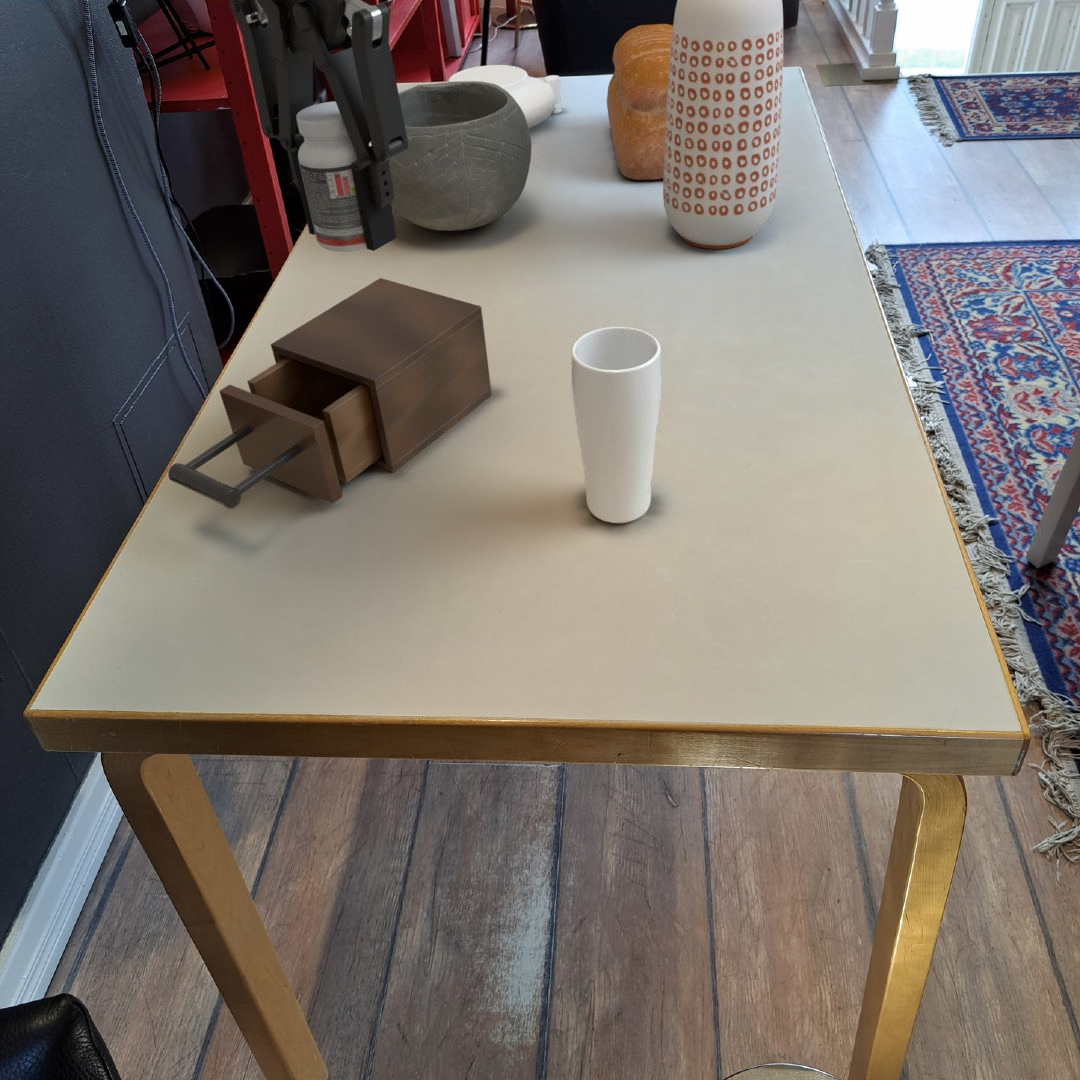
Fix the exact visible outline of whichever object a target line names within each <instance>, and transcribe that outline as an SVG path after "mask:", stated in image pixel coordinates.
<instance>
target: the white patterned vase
mask: <svg viewBox="0 0 1080 1080" xmlns="http://www.w3.org/2000/svg"><path fill="white" fill-rule="evenodd" d="M783 7H784V6H783V0H677V1H676V5H675V9H674V16H673V24H672V26H673V33H672V42H671V52H670V63H669V77H668V92H667V108H666V129H665V153H664V178H663V181H662V199H663V206H664V211H665V214H666V217H667V219H668V221H669V222H670V224H671V226H672V227H673V229H674V230H675V231H676V232H677V234H679V235H680V237H681V238H682V239H683V240H684V241H685V242H686V243H687V244H689V245H691V246H695V247H698V248H702V249H709V250H723V249H725V250H726V249H731V248H736V247H739V246H742V245H745V244H747V243H748V242H749V241H751V240H752V238H753V237H754V236H755V235H756V234H757V233H758V232H759V231H760V230H761V229H762V228H763V227H764V226H765V224H766V222H767V221H768V220H769V219H770V216H771V214H772V213H773V210H774V206H775V204H776V203H775V202H776V197H777V191H778V190H777V189H778V177H779V159H780V142H781V128H782V127H781V126H782V108H783V107H782V106H783V80H784V79H783V78H784V8H783Z"/></svg>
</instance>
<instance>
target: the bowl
mask: <svg viewBox="0 0 1080 1080" xmlns="http://www.w3.org/2000/svg"><path fill="white" fill-rule="evenodd" d="M398 93H399V98H400V104H401V109H402V114H403V119H404V125H405V130H406V135H407V140H408V149H407V150H406V151H404V152H402V153H400V154H398V155H396V156H394V157H392V158H390V159H389V166H390V172H391V178H392V184H393V190H394V201H393V202H391V206H392V212H393V213H395V214H396V215H398V216H399V217H401V218H403V219H405V220H407V221H409V222H410V223H412V224H414V225H417V226H419V227H421V228H425V229H427V230H432V231H441V232H442V231H443V232H445V231H448V232H449V231H454V232H455V231H463V230H464V231H465V230H470V229H476V228H479V227H483V226H485V225H488V224H491V223H493V222H494V221H496V220H498V219H499V218H502V216H503V215H505V214H506V213H507V212H508V211H509V210H510V209H511V208H512V207H513V206H514V205H515V204H516V202H518V200H519V198H520V197H521V195H522V193H523V191H524V189H525V186H526V183H527V179H528V175H529V172H530V166H531V161H532V160H531V159H532V138H531V133H530V128H528V125H527V121H526V118H525V115H524V113H523V111H522V109H521V108H520V106H519V105H518V103H517V102H516V101H515V99H514V98H513V97H512V96H511V95H510V94H509V93H508V92H507V91H506V90H504V89H503V88H501V87H500V86H498V85H496V84H492V83H487V82H479V81H461V82H448V81H447V82H441V83H429V84H427V83H425V84H417V85H416V86H413V87H410V88H408V89H405V90H403V91H400V92H398ZM370 143H371V145H372V141H370Z"/></svg>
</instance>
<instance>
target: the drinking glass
mask: <svg viewBox="0 0 1080 1080" xmlns="http://www.w3.org/2000/svg"><path fill="white" fill-rule="evenodd" d="M661 348H662V347H661V344H660V342H659V340H657V338H656V337H655V336H654V335H652V334H651V333H649V332H647V331H645V330H642V329H639V328H635V327H628V326H607V327H601V328H597V329H594V330H592V331H589V332H587V333H585V334H583V335H581V336H579V338H577V339H576V340H575V341H574V342H573V344H572V346H571V348H570V376H571V377H570V382H571V394H572V395H571V396H572V402H573V403H572V404H573V405H572V406H573V412H574V419H575V424H576V431H577V437H578V438H577V439H578V443H579V450H580V457H581V463H582V470H583V477H584V485H585V499H586V505H587V508H588V510H589V512H590V513H591V514H592V515H593V516H594V517H596V518H597V519H599V520H601V521H603V522H607V523H611V524H626V523H630V522H633V521H636V520H638V519H640V518H641V517H643V516H644V515H645V514H646V512H648V510H649V508H650V506H651V501H652V480H653V471H654V463H655V462H654V461H655V453H656V444H657V435H658V428H659V427H658V425H659V418H660V417H659V416H660V409H661V397H662V379H663V378H662V376H663V375H662V349H661Z"/></svg>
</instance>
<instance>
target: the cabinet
mask: <svg viewBox="0 0 1080 1080" xmlns="http://www.w3.org/2000/svg"><path fill="white" fill-rule="evenodd" d="M482 310H483V309H482V306H481V305H478V304H473V303H471V302H467V301H464V300H460V299H456V298H454V297H453V298H452V297H450V296H445V295H442V294H440V293H439V294H438V293H435V292H432V291H429V290H424V289H420V288H417V287H415V286H414V287H413V286H410V285H407V284H403V283H401V282H400V283H399V282H396V281H393V280H389V279H386V278H382V277H380V278H378V279H376V280H374V281H373V282H371V283H370V284H368V285H367V286H364V287H363V288H361V289H360V290H358V291H356V292H355V293H353V294H352V295H350V296H348V297H346V298H344V299H343V300H341V301H340V302H338V303H337V304H335V305H333V306H332V307H330V308H329V309H327V310H325V311H323V312H322V313H320V314H318V315H317V316H315V317H313V318H312V319H310V320H308V321H307V322H305V323H303V324H302V325H300V326H298V327H296V328H295V329H294V330H292V331H289V333H286V334H285V335H284V336H282V337H280V338H279V339H277V340H276V341H273V342H272V343H271V344H270V347H271V350H272V354H273V358H274V362H275V364H276V363H278V362H279V361H281V360H283V359H284V358H286V357H289V358H292V359H294V360H297V361H300V362H303V363H306V364H308V365H311V366H314V367H317V368H320V369H322V370H325V371H328V372H331V373H334V374H337V375H339V376H342V377H345V378H348V379H351V380H353V381H356V382H359V383H362V384H365V385H367V386H369V388H370V393H371V397H372V402H373V407H374V411H375V416H376V421H377V425H378V430H379V435H380V439H381V444H382V449H383V454H384V455H383V456H382V457H380V458H379V459H378V460H376V461H375V462H374V463H372V464H371V465H374V466H376V467H378V468H381V469H384V470H385V471H389V472H391V473H395V472H396V471H398V470H399V469H400V468H401V467H402V466H404V465H405V464H407V462H409V461H410V460H412V459H413V458H414V457H415V456H417V455H418V454H419V453H420V452H421V451H423V450H424V449H425V448H427V447H428V446H429V445H430V444H432V443H433V442H434V441H435V440H437V439H438V438H439V437H441V436H442V435H443V434H444V433H446V432H447V431H448V430H449V429H451V428H452V427H453V426H455V425H456V424H457V423H459V422H460V421H461V420H462V419H463V418H464V417H466V416H468V414H470V413H471V412H472V411H474V410H475V409H476V408H477V407H478V406H480V405H481V404H482V403H484V402H485V401H486V400H487V399H489V398H490V397H491V396H492V395H493V394H492V387H491V386H492V385H491V377H490V369H489V360H488V352H487V343H486V336H485V328H484V319H483V318H484V317H483V311H482Z"/></svg>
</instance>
